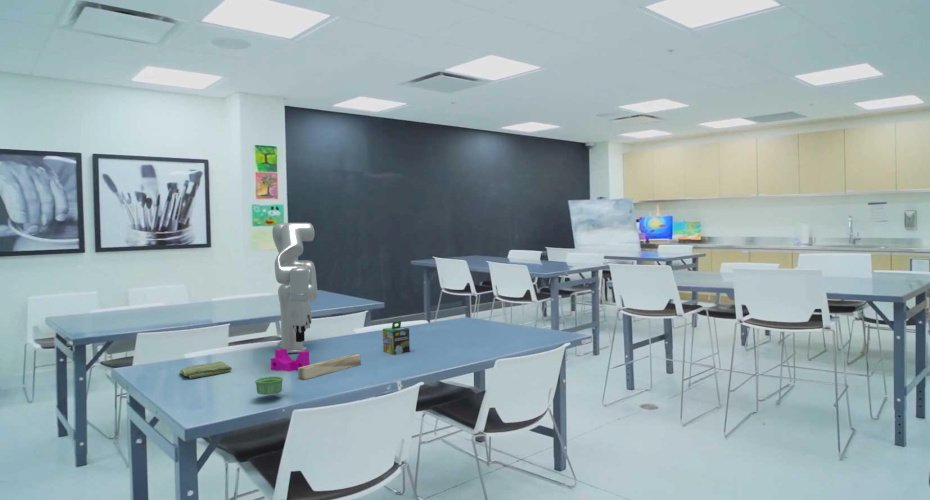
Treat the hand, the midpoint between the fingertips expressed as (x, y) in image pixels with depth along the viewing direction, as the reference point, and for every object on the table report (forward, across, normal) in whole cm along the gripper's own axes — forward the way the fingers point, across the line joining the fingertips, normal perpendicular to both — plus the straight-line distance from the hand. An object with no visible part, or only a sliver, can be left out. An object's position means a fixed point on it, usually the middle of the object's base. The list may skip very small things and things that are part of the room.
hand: (300, 341), depth 236 cm
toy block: (+11, 0, -6) cm, 12 cm away
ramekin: (+8, +23, -34) cm, 42 cm away
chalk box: (+11, +19, +40) cm, 45 cm away
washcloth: (+12, -26, -26) cm, 39 cm away
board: (+9, +19, -1) cm, 21 cm away
